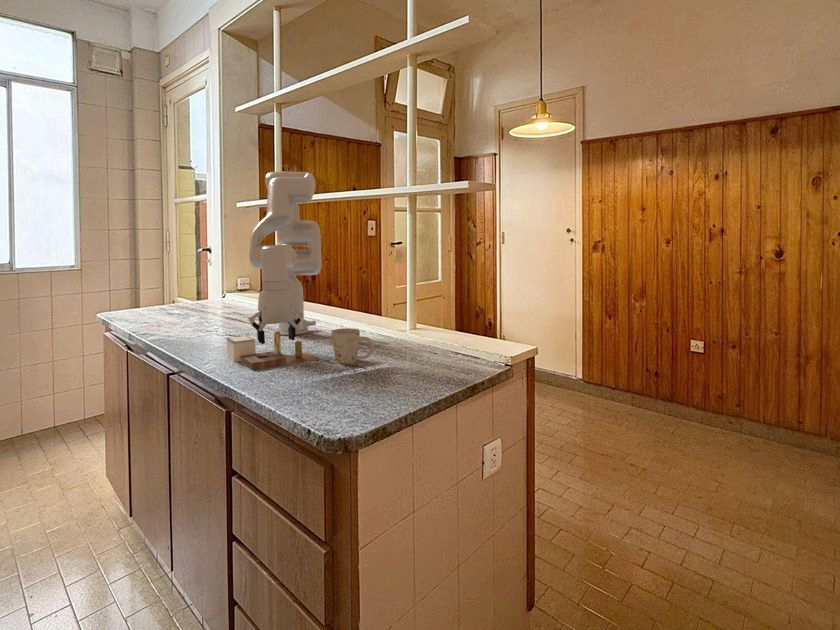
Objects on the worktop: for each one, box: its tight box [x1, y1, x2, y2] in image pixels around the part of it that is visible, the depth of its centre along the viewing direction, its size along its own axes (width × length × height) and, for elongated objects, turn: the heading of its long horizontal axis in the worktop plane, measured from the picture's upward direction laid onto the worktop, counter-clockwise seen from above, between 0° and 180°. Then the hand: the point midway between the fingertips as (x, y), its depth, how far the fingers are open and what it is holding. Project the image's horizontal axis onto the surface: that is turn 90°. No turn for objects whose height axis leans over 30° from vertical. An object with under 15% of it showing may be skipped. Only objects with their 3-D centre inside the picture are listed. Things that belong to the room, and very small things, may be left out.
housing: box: [226, 335, 257, 363], centre depth 156 cm, size 6×6×7 cm
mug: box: [330, 328, 375, 364], centre depth 154 cm, size 8×13×10 cm, turn 95°
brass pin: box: [273, 330, 282, 355], centre depth 162 cm, size 2×2×8 cm
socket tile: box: [239, 350, 288, 371], centre depth 150 cm, size 10×10×3 cm
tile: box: [283, 340, 321, 365], centre depth 156 cm, size 10×10×6 cm
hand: (277, 341), depth 161 cm, fingers open, 9 cm apart
